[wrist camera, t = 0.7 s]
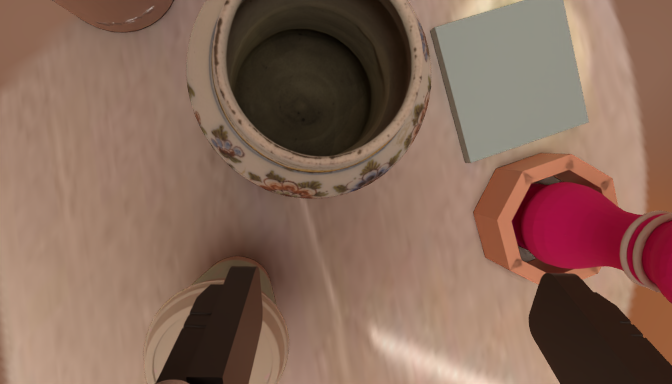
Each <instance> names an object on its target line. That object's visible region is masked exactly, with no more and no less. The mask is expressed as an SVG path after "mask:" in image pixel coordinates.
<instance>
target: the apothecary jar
mask: <svg viewBox="0 0 672 384" xmlns="http://www.w3.org/2000/svg"><path fill="white" fill-rule="evenodd" d="M186 76H187V86H188V92H189V97H190V101H191V104H192V107H193V111H194V114H195V116H196V119H197V121H198V123H199V125H200V127H201V129H202V131H203V133H204V135H205V137H206V138H207V140H208V141H209V143H210V144H211V146H212V147H213V148H214V150H215V151H216V152H217V153H218V154H219V155H220V156H221V157H222V158H223V159H224V160H225V162H226V163H227V164H228V165H229V166H230V167H231V168H232V169H234V170H235V171H236V172H237V173H239V174H240V175H242V176H243V177H244V178H246V179H247V180H249V181H251V182H252V183H254V184H256V185H258V186H260V187H262V188H264V189H266V190H268V191H271V192H274V193H278V194H281V195H285V196H290V197H297V198H327V197H333V196H338V195H343V194H346V193H349V192H352V191H355V190H358V189H360V188H362V187H364V186H366V185H368V184H370V183H372V182H373V181H375V180H376V179H378V178H379V177H381V176H382V175H383V174H385V173H386V172H387V171H388V170H389V169H390V168H392V167H393V166H394V165H395V164H396V163H397V162H398V161H399V159H400V158H401V157H402V156H403V155H404V154H405V152H406V151H407V150H408V148H409V147H410V145H411V144H412V142H413V141H414V139H415V137H416V135H417V133H418V131H419V129H420V127H421V125H422V122H423V119H424V116H425V113H426V110H427V106H428V102H429V96H430V89H431V63H430V55H429V50H428V45H427V41H426V37H425V34H424V32H423V29H422V26H421V24H420V22H419V20H418V18H417V16H416V14H415V12H414V10H413V8H412V7H411V5H410V3H409V2H408V0H206V1H205V3H204V5H203V6H202V8H201V10H200V12H199V14H198V16H197V19H196V21H195V23H194V26H193V29H192V32H191V36H190V40H189V45H188V51H187V62H186Z"/></svg>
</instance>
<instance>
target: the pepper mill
mask: <svg viewBox="0 0 672 384" xmlns="http://www.w3.org/2000/svg"><path fill="white" fill-rule="evenodd" d="M512 225H513V229H514V233H515V237H516V241H517V245H518V246H520V247H522V248H525V249H527V250H529V251H530V253H532V254H533V255H534V256H535V257H536V258H537V259H539V260H540V261H542V262H544V263H546V264H549V265H553V266H556V267H560V268H568V269H584V268H591V267H602V266H610V267H614V268H617V269H621V270H623V271H624V272H625V274H626V275H627V277H628V278H629V279H630V280H631V281H633V282H634V283H636V284H638V285H640V286H644V287H647V288H649V289H651V290H654V291H656V292H661V293H662V294H663V295H664V296H665V297H666V298H667V300H668V301H669V302H671V303H672V213H670V212H667V211H652V212H649V213H646V214H644V215H637V214H633V213H629V212H626V211H624V210H622V209H620V208H619V207H618V206H616V205H615V204H614V203H613V202H612V201H610V200H609V199H608V198H607V197H605V196H604V195H603V194H601V193H600V192H598V191H596V190H594V189H592V188H590V187H588V186H584V185H581V184H576V183H572V182H559V183H554V184H551V185H544V184H535V183H534V184H531V185H530V187H529V189H528V191H527V193H526V194H525V196H524V198H523V200H522V202H521V204H520V206H519V208H518V210H517V212H516V213H515V215H514V217H513V219H512Z"/></svg>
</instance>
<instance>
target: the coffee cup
mask: <svg viewBox="0 0 672 384" xmlns="http://www.w3.org/2000/svg"><path fill="white" fill-rule="evenodd" d="M231 266H257V267H259V271H260V282H261V294H262V306H263V318H262V327H261V333H260V337H259V341H258V346H257V350H256V354H255V359H254V363H253V367H252V371H251V376H250V380H249V384H277V383H278V382H279V380H280V378H281V376H282V374H283V371H284V368H285V365H286V362H287V358H288V353H289V334H288V329H287V326H286V323H285V320H284V318H283V316H282V314H281V312H280V311H279V309H278V308H277V305H276V301H275V297H274V293H273V289H272V285H271V282H270V279H269V276H268V274H267V272H266V270H265V269H264V268H263V267H262V266H261V265H260V264H259V263H258V262H256V261H254V260H252V259H250V258H247V257H241V256H234V257H229V258H225V259H223V260H221V261H219V262H217V263H216V264H215V265H214V266H212V267H211V268H210V269H209V270H208V271H207V272H205V273H204V274H203V275H202V276H201V277H200V278H199V279H198V280H197V281H195V282H194V283H193V284H192V285H191V286H190V287H188V288H185V289H183V290H182V291H180V292H178V293H177V294H175V295H174V296H173V297H171V298H170V299H169V300H168V301H167V302H166V303H165V304H164V305H163V306H162V307H161V308H160V309H159V311H158V312H157V313H156V315H155V317H154V318H153V320H152V322H151V324H150V327H149V330H148V333H147V336H146V339H145V344H144V353H143V357H144V371H145V378H146V382H147V384H155V383H156V381H157V379H158V378H159V375H160V373H161V371H162V369H163V367H164V365H165V363H166V361H167V359H168V357H169V354H170V352H171V350H172V348H173V346H174V344H175V342H176V340H177V338H178V336H179V333H180V331H181V329H182V328H183V327H184V323H185V321H186V319H187V317H188V315H189V314H190V310H191V308H192V306H193V304H194V302H195V300H196V298H197V296H199V295H200V294H201V293H202V292H203V291H204V290H205V289H206V288H207V287H208V286H209V285H210V284H224V281H225V279H226V276H227V274H228V272H229V269H230V267H231Z"/></svg>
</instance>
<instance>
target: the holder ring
mask: <svg viewBox="0 0 672 384" xmlns="http://www.w3.org/2000/svg"><path fill="white" fill-rule="evenodd" d="M550 176H554V177H556V178H557V179H559V180H561V181H563V182H572V183H576V184H581V185H584V186H588V187H590V188H592V189H594V190H596V191H598V192H600V193H601V194H603V195H604V196H605V197H607V198H608V199H609V200H610V201H612V202H613V203H614V204H615V205H616V206H618V203H617V198H616V193H615V189H614V184H613V178H611V177H609V176H608V175H606V174H604V173H602V172H601V171H599V170H597V169H596V168H594V167H592V166H591V165H589V164H587V163H586V162H584V161H582V160H580V159H579V158H577V157H575V156H574V155H572V154H544V153H539V154H537V155H534V156H531V157H528V158H525V159H523V160H520V161H517V162H514V163H511V164H508V165H505V166H503V167H500V168H497V169H496V170H495V172H494V174H493V176H492V178H491V179H490V181H489V183H488V185H487V187H486V189H485V191H484V193H483V195H482V197H481V199H480V200H479V202H478V204H477V206H476V208H475V210H474V212H473V213H474V217H475V221H476V224H477V228H478V232H479V236H480V239H481V243H482V247H483V251H484V254H485V257H486V258H488V259H490V260H491V261H493V262H495V263H497V264H499V265H501V266H503V267H505V268H506V269H508V270H511V271H513V272H515V273H517V274H518V275H520V276H522V277H524V278H526V279H528V280H530V281H532V282H534V283H536V284H538V285H539V283H540V280H541V277H542V276H543V275H544V274H545V273H573V274H576V275H578V276H579V277H580V278H581V279H585V278H587V277H590V276H592V275H595V274H598V272H599V270H600V268H601V267H591V268H584V269H568V268H560V267H556V266H553V265H549V264H546V263H544V262H542V261H540V260H539V259H535V260H532V261H530V262H527V263H526V262H524V261H522V260H521V257H520V253H519V249H518V245H517V241H516V237H515V233H514V229H513V225H512V219H513V217H514V215H515V213H516V212H517V210H518V208H519V206H520V204H521V202H522V200H523V198H524V196H525V194H526V193H527V191H528V189H529V187H530V185H531V183H533V182H536V181H539V180H542V179H544V178H547V177H550Z"/></svg>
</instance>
